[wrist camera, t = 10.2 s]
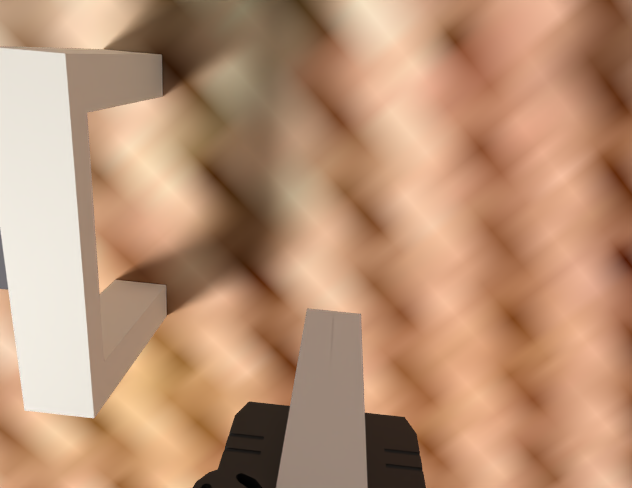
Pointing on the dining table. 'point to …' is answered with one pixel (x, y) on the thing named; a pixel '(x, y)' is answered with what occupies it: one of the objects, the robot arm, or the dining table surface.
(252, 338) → the dining table surface
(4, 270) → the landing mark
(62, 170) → the bridge
